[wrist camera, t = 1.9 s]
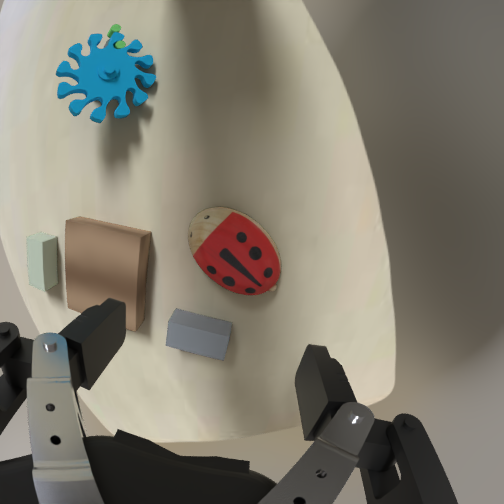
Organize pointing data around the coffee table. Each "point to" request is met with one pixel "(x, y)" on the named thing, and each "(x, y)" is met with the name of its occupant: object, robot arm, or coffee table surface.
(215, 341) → the slate brick
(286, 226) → the coffee table surface
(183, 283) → the coffee table surface
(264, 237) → the ladybug figurine
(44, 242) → the sage brick
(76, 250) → the walnut block
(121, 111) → the gear
